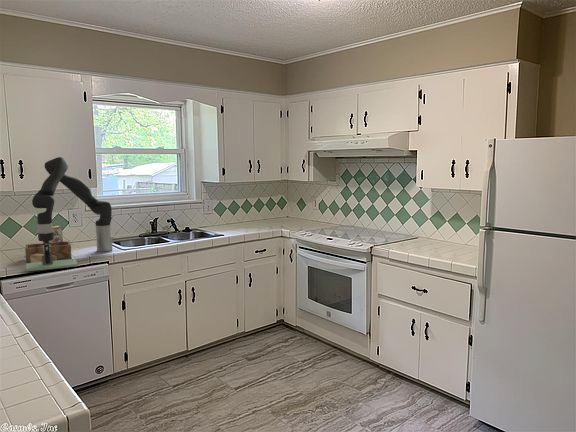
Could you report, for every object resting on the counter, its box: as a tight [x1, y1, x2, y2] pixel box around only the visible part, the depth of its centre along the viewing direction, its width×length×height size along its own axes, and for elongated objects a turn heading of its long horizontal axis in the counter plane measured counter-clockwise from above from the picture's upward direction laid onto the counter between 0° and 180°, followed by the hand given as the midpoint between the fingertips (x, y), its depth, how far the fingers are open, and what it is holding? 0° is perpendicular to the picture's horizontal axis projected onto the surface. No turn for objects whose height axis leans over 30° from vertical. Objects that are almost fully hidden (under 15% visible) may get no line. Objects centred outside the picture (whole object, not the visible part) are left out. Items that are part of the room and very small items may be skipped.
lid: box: [24, 254, 79, 273], centre depth 248 cm, size 25×15×6 cm, turn 119°
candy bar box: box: [42, 225, 64, 243], centre depth 297 cm, size 11×5×16 cm, turn 141°
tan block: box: [30, 254, 57, 263], centre depth 260 cm, size 4×16×6 cm, turn 69°
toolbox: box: [24, 240, 73, 264], centre depth 275 cm, size 24×14×9 cm, turn 119°
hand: (47, 262), depth 247 cm, fingers closed on lid, 2 cm apart
